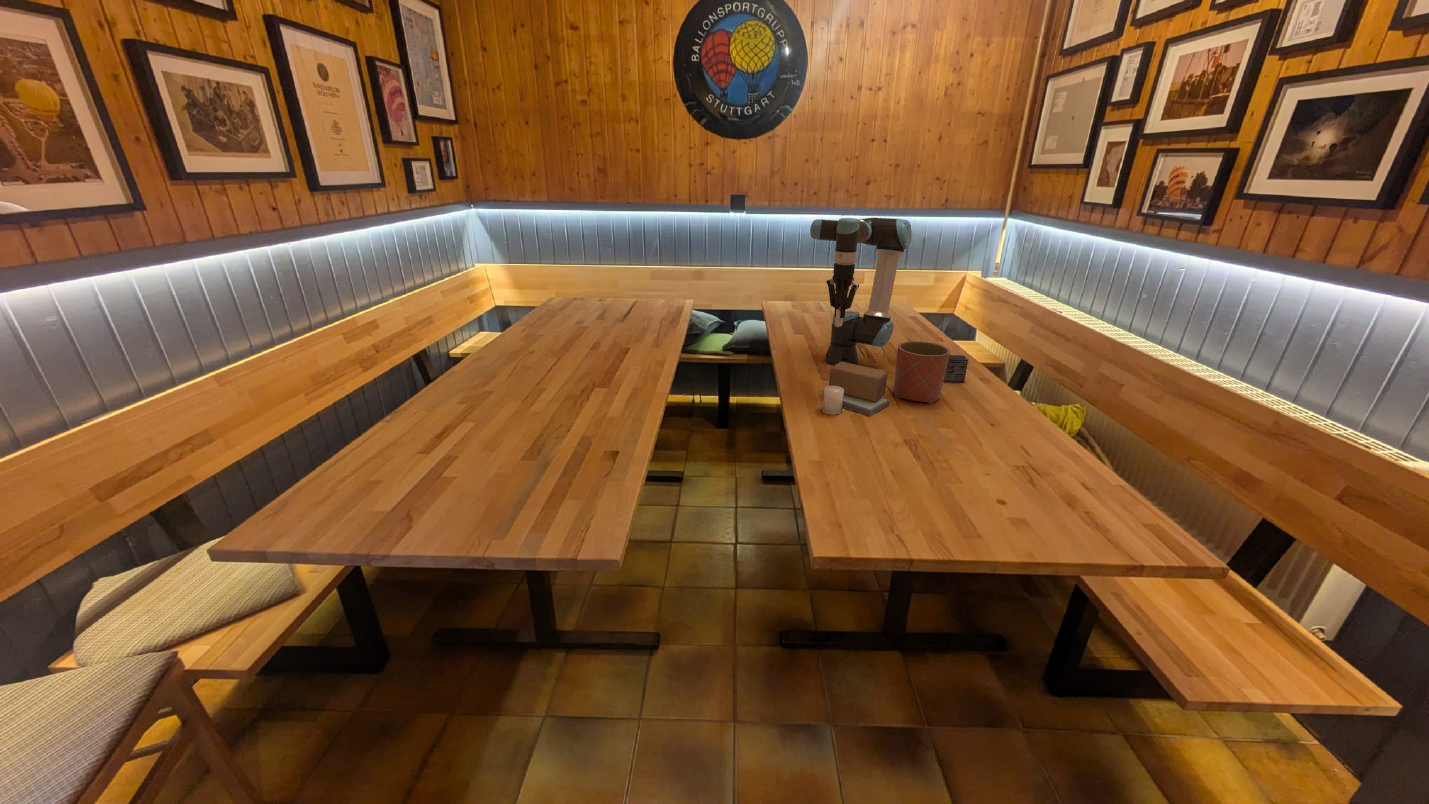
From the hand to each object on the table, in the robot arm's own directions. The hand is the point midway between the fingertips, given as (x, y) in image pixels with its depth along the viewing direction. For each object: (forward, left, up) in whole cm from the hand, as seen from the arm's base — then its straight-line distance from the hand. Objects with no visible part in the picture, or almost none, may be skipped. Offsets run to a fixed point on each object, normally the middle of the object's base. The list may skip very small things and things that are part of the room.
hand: (838, 325), depth 211 cm
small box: (+26, +50, -29) cm, 64 cm away
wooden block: (-1, +1, -21) cm, 21 cm away
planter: (+24, +23, -29) cm, 44 cm away
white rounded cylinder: (+9, -14, -29) cm, 33 cm away
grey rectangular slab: (+12, -1, -28) cm, 31 cm away
